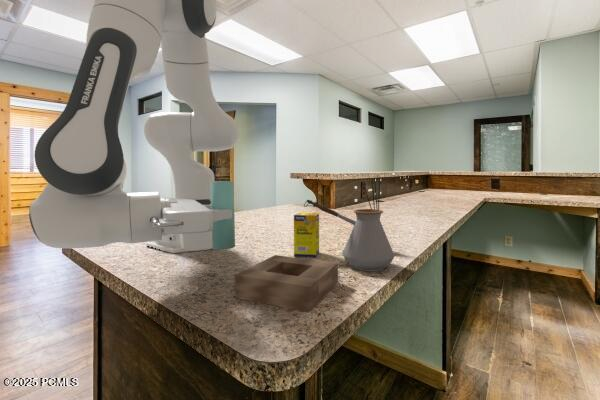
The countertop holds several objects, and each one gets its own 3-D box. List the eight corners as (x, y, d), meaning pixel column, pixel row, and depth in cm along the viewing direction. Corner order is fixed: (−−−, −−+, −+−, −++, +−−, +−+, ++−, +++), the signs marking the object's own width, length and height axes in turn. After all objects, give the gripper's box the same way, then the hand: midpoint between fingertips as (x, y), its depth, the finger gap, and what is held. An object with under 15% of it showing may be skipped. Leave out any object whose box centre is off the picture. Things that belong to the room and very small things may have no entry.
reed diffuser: (381, 255, 79) (382, 178, 78) (355, 252, 83) (356, 178, 81) (390, 247, 88) (391, 177, 87) (366, 244, 92) (367, 177, 90)
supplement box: (316, 258, 78) (316, 215, 77) (293, 257, 79) (293, 214, 78) (319, 252, 83) (319, 212, 82) (298, 251, 85) (297, 211, 84)
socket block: (235, 297, 53) (234, 274, 53) (275, 273, 66) (275, 255, 65) (309, 312, 47) (309, 286, 47) (338, 282, 60) (338, 262, 59)
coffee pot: (396, 262, 73) (397, 199, 72) (390, 277, 63) (391, 204, 62) (313, 253, 82) (313, 197, 81) (295, 265, 71) (294, 201, 70)
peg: (207, 248, 60) (205, 181, 59) (222, 243, 64) (220, 181, 63) (225, 250, 58) (223, 182, 57) (239, 245, 62) (238, 181, 61)
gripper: (150, 205, 45) (242, 200, 51) (148, 194, 63) (216, 192, 69) (152, 247, 46) (242, 237, 52) (149, 224, 64) (216, 219, 70)
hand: (227, 211), depth 61 cm, fingers closed on peg, 4 cm apart
